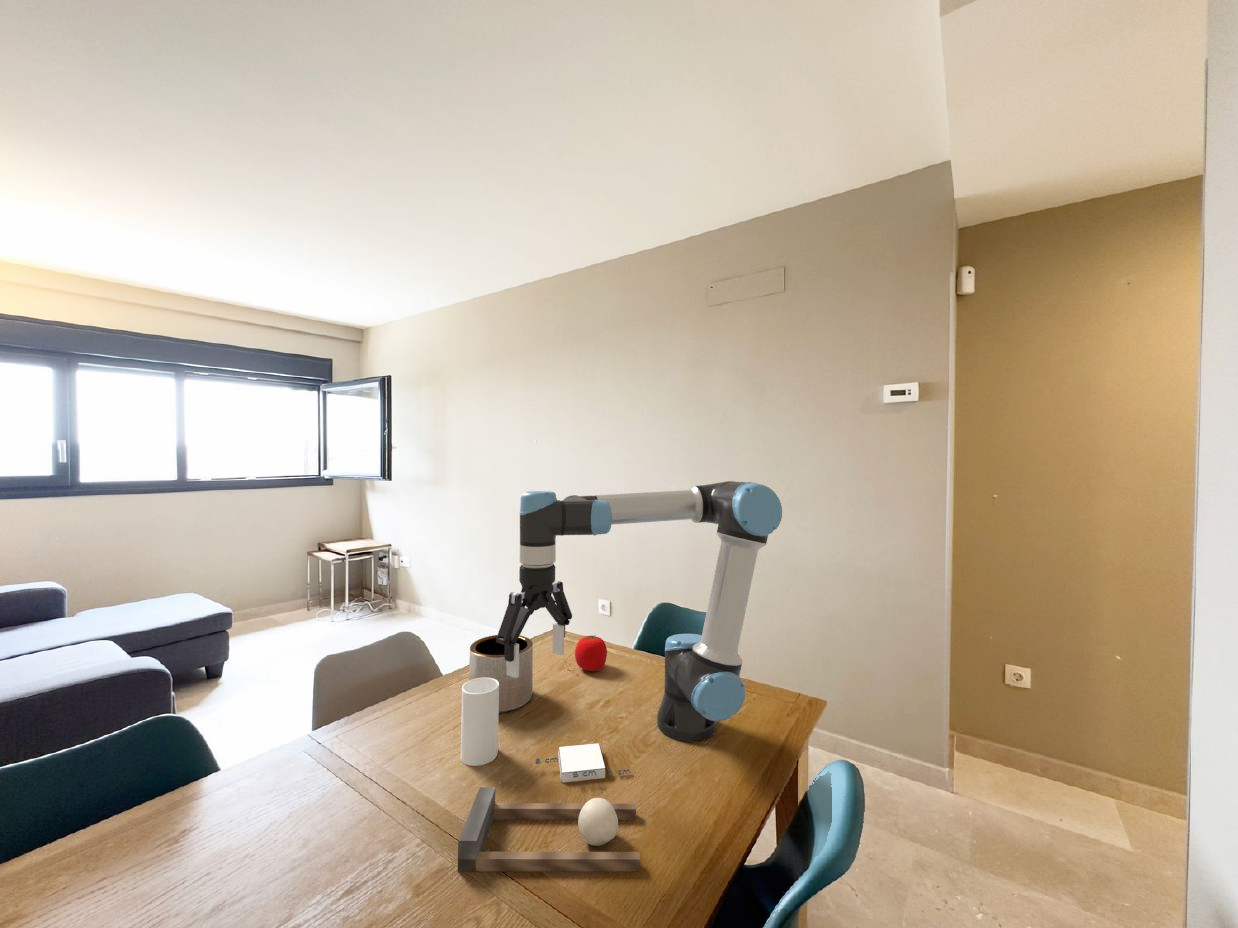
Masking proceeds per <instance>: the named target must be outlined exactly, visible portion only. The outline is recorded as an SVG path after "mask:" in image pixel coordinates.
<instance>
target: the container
mask: <svg viewBox="0 0 1238 928" xmlns="http://www.w3.org/2000/svg"><path fill="white" fill-rule="evenodd" d="M557 754H558V757H551V758H545V759H544V762H545V763H546V764H549V763H552V760H553V763H555V762H556V763H559V765H558V766H559V772H560V773H559V775H560V781H561V782H560V783H570V782H580V781H589V780H591V781H592V780H598V779H606V777H607V776H606V774H607V772H608V773H609V774H608V777H610V776H614V773H613V770H612V769H608V770H607V768H606V764H605V760H604V756H603V752H602V749H601V745H600V742H596V743H586V744H585V743H584V744H575V745H574V744H573V745H563V746H558V753H557ZM540 763H541V758H539V757H537V758H535V764H536V765H538V764H540ZM625 773H626V774H627V775H628V773H629V774H631V773H632V772H631V770H630V768H627V769H619V770H617V775H620V776H621V775H622V776H623V775H625Z"/></svg>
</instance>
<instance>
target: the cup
mask: <svg viewBox="0 0 1238 928" xmlns="http://www.w3.org/2000/svg"><path fill="white" fill-rule="evenodd" d="M498 712H499V682H498V681H497V680H495V679H493V678H476V679H472V680H470V681H469V680H468V681H466V682H465V683H463V685H462V686H461V719H460V720H461V721H460V723H461V724H460V726H461V727H460V761H461V762H462V764H465V765H466V766H473V767H477V766H478V767H479V766H483V765H486V764H489V763H491V762H492V761H494V760H495V759H496V757H497V756H498V753H499V752H498V751H499V713H498Z"/></svg>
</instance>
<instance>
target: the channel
mask: <svg viewBox="0 0 1238 928" xmlns="http://www.w3.org/2000/svg"><path fill="white" fill-rule="evenodd" d="M586 803H587V802H585V803H583V802H581V803H579V802H578V803H572V802H571V803H569V802H568V803H567V802H566V803H563V802H562V803H560V802H558V803H556V802H555V803H554V802H552V803H551V802H549V803H548V802H547V803H543V802H540V803H539V802H526V803H523V802H519V803H518V802H508V803H507V802H498V803H497V802H496V787H495V786H493V787H490V786H488V787H486V786H485V787H483V786H481V787H479V788H478V791H477V793H476V796H475V798H474V801H473V803H472V806H471V808H470V810H469V813H468V816H467V818H466V820H465V822H464V826H463V827H462V828H463V829H462V831H461V833H460V836H459V838H458V841H457V872H640V871H641V870H640V869H641V868H640V867H641V862H640V861H641V857H640V856H641V855H640V851H484V849H485V844H486V841H487V839H488V836H489V833H490V830H491V826H492V823H493V821H494V820H550V821H551V820H553V821H554V820H558V821H559V820H560V821H561V820H564V821H565V820H567V821H568V820H569V821H570V820H577V821H578V819H579V814H580V811H581V809H582V807H583V806H584V805H585V804H586ZM610 804H611V805H612V806H613V808H614V810H615V812H616V815H617V818H618V821H624V820H625V821H635V820H636V821H637V805H636V803H610Z"/></svg>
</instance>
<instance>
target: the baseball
mask: <svg viewBox="0 0 1238 928" xmlns="http://www.w3.org/2000/svg"><path fill="white" fill-rule="evenodd" d="M585 803H586V804H585V805H584V806H583V807H582V809H581V811H580V814H579V819H578V820H577V826H578V831H579V833H580V836H581V837H582V839H583V840H584V841H585V842H586V843H587V844H589V845H591V846H594V847H595V846H596V847H599V846H604V845H606V844H607V843H608V842H610V841H612V840H613V839H614V838H615V837H616V834H617V832H618V828H619V820H618V818H617V815H616V812H615V810H614V808H613V806H612V805H611V804H612V803H611V802H609V801H608V799H605V798H603V797H593V798H591V799H588V800H587V801H586V802H585Z"/></svg>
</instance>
